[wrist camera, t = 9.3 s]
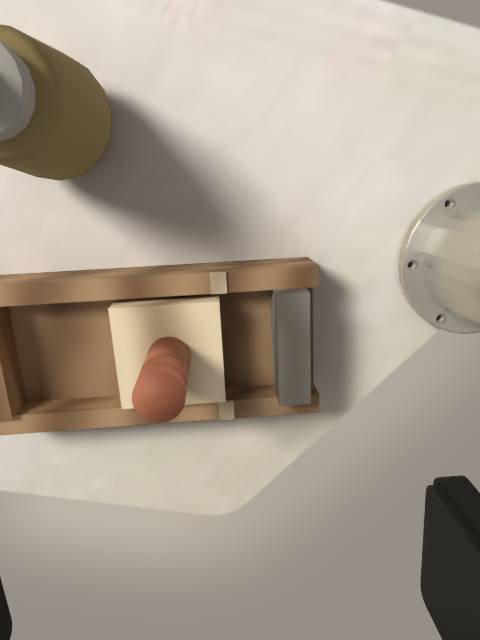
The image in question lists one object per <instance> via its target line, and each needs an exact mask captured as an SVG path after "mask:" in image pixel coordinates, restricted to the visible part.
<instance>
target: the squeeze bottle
mask: <svg viewBox="0 0 480 640" xmlns="http://www.w3.org/2000/svg"><path fill="white" fill-rule="evenodd" d="M111 119H112V114H111V111H110V108H109V104H108V101H107V98H106V95H105V91H104V89H103V88H102V87H101V85H100V84H99V83H98V81H97V80H96V79H95V77H94V76H93V75H92V73H91V72H90V71H89V69H88V68H86V67H85V66H83V65H81V64H80V63H78V62H77V61H75V60H74V59H72V58H70V57H69V56H67V55H66V54H64V53H62V52H60V51H58V50H56V49H54V48H52V47H50V46H48V45H46V44H44V43H42V42H40V41H38V40H36V39H34V38H33V37H31V36H29V35H27V34H25V33H23V32H21V31H19V30H17V29H15V28H13V27H11V26H6V25H0V165H3V166H6V167H9V168H12V169H15V170H18V171H21V172H24V173H27V174H30V175H33V176H36V177H41V178H48V179H54V180H64V179H68V178H72V177H76V176H80V175H83V174H84V173H85V172H86V171H88V170H89V169H90V168H91V167H93V166H94V165H95V164H96V163H97V162H99V161H100V159H101V157H102V155H103V153H104V151H105V149H106V147H107V145H108V143H109V141H110V134H111Z"/></svg>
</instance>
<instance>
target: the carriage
mask: <svg viewBox="0 0 480 640" xmlns="http://www.w3.org/2000/svg"><path fill="white" fill-rule="evenodd" d="M108 312H109V319H110V327H111V334H112V341H113V349H114V356H115V363H116V371H117V378H118V385H119V393H120V400H121V407H122V409H132V408H134V409H135V411H136V412H137V413H138V414H139V415H140V416H141V417H142V418H144V419H146V420H148V421H151V422H156V423H162V422H167V421H170V420H172V419H174V418H176V417H177V416H178V415H179V414H180V413H181V411H182V410H183V408H184V405H188V404H202V403H216V402H226V396H225V380H224V364H223V349H222V333H221V318H220V302H219V294H199V295H182V296H166V297H150V298H134V299H118V300H115V301H114V302H113V303H112V305H111V306H110V307H109V308H108Z"/></svg>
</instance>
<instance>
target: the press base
mask: <svg viewBox="0 0 480 640" xmlns="http://www.w3.org/2000/svg"><path fill="white" fill-rule="evenodd" d="M312 287H319V266H318V265H317V264H316V263H314V262H313V261H312V260H310V259H309V258H308V257H300V258H283V259H266V260H249V261H232V262H215V263H198V264H181V265H164V266H147V267H130V268H113V269H96V270H79V271H62V272H45V273H28V274H11V275H0V435H10V434H24V433H37V432H51V431H65V430H79V429H92V428H106V427H120V426H134V425H147V424H161V423H156V422H151V421H148V420H146V419H144V418H142V417H141V416H140V415H139V414H138V413H137V412H136V411H135V409H134V408H132V409H122V407H121V400H120V393H119V385H118V378H117V371H116V363H115V356H114V349H113V341H112V334H111V327H110V319H109V312H108V308H109V307H110V306H111V305H112V303H113V302H114V301H115V300H118V299H134V298H150V297H166V296H182V295H199V294H219V302H220V318H221V333H222V349H223V364H224V380H225V396H226V402H216V403H202V404H188V405H184V408H183V410H182V411H181V413H180V414H179V415H178V416H177V417H176V418H174V419H172V420H170V421H167V422H162V423H175V422H189V421H202V420H216V419H220V420H233V419H235V418H243V417H257V416H271V415H285V414H298V413H312V412H319V393H318V391H317V389H316V387H315V385H314V383H313V321H312Z"/></svg>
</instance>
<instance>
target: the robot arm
mask: <svg viewBox="0 0 480 640" xmlns="http://www.w3.org/2000/svg"><path fill="white" fill-rule="evenodd" d="M446 201H447V205H446V206H445V202H446ZM410 261H411V265H410V266H408V263H409V262H410ZM399 274H400V282H401V286H402V289H403V292H404V295H405V297H406V299H407V300H408V302H409V304H410V306H411V307H412V308H413V309H414V310H415V311H416V313H417V314H418V315H419V316H421V317H422V318H423V319H425V320H426V321H427V322H429V323H431V324H432V325H434V326H436V327H438V328H440V329H443V330H446V331H449V332H455V333H463V334H465V333H478V332H480V182H475V183H469V184H465V185H461V186H458V187H455V188H453V189H451V190H449V191H447V192H445V193H443V194H441V195H440V196H439V197H437V198H436V199H434V200H433V201H431V202H430V203H429V204H428V205H427V206H426V207H425V208H424V209H423V210H422V211H421V212H420V213H419V215H418V216H417V218H416V219H415V220H414V222H413V223H412V225H411V226H410V228H409V230H408V233H407V235H406V237H405V239H404V242H403V246H402V249H401V253H400V261H399ZM438 315H439V317H438V318H437V316H438ZM424 517H425V518H424V534H423V551H422V569H421V592H422V596H423V600H424V602H425V605H426V607H427V609H428V611H429V613H430V615H431V617H432V619H433V621H434V623H435V625H436V628H437V629H438V632H439V634H440V635H441V638H442V640H480V493H479V492H478V490H477V489H476V488H475V487H474V486H473V485H472V483H471V482H470V481H469V480H468V479H467V478H466V477H465V476H450V477H439V478H436V479H435V480H434V483H433V485H429V486H427V488H426V499H425V516H424ZM11 632H12V619H11V615H10V612H9V608H8V604H7V600H6V597H5V593H4V590H3V586H2V582H1V578H0V640H10V637H11Z"/></svg>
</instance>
